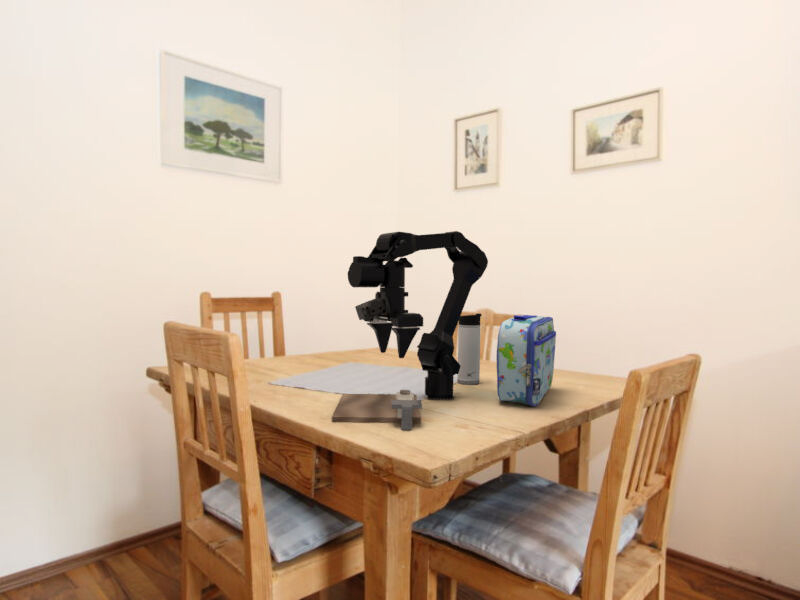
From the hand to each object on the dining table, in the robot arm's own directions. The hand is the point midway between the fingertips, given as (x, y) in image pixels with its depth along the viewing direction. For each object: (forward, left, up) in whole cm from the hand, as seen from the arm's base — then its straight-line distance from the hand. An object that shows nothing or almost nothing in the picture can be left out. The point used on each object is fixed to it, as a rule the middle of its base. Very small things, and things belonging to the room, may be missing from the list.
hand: (391, 355), depth 113 cm
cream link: (-3, +8, -10) cm, 13 cm away
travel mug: (-22, -27, -12) cm, 37 cm away
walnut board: (+3, +4, -12) cm, 12 cm away
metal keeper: (-3, +16, -12) cm, 20 cm away
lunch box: (-34, -10, -12) cm, 37 cm away
